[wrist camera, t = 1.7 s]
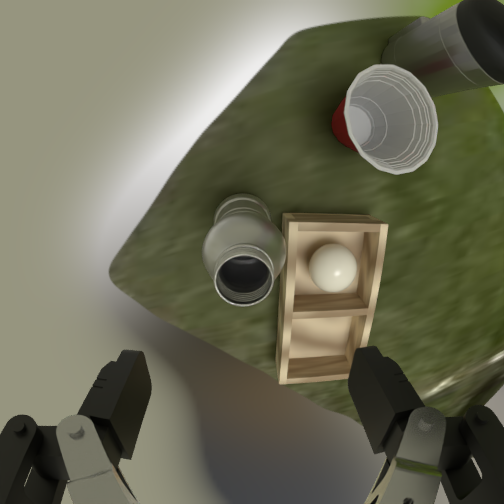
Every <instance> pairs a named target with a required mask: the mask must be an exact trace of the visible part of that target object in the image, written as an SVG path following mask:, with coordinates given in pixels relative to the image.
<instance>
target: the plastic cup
mask: <svg viewBox="0 0 504 504" xmlns="http://www.w3.org/2000/svg"><path fill="white" fill-rule="evenodd" d="M331 125H332V129H333V133H334V135H335V136H336V138H337V139H338V141H339V142H341V143H342V144H343V145H345V146H346V147H349V148H351V149H352V150H354V151H356V152H358V153H359V154H360V155H361V156H362V157H363V158H365V159H366V160H367V161H368V162H370V163H371V164H372V165H373V166H374V167H376V168H377V169H378V170H382V171H385V172H389V173H392V174H396V175H397V174H402V173H407V172H412V171H414V170H415V169H417V168H418V167H419V166H421V165H422V164H423V163H425V162H426V161H427V159H428V158H429V156H430V154H431V152H432V150H433V148H434V147H435V145H436V138H437V131H438V121H437V115H436V110H435V105H434V103H433V101H432V99H431V97H430V95H429V93H428V91H427V89H426V87H425V86H424V85H423V84H422V83H421V82H420V81H419V80H418V79H417V78H416V77H415V76H414V75H413V74H412V73H411V72H409V71H406V70H404V69H402V68H400V67H398V66H395V65H373V66H371V67H369V68H367V69H366V70H364V71H362V72H360V73H358V75H357V76H356V78H355V80H354V81H353V83H352V84H351V86H350V87H349V89H348V90H347V94H346V96H345V98H344V99H343V100H342V101H341V103H340V104H339V106H338V108H337V109H336V111H335V112H334V114H333V117H332V123H331Z"/></svg>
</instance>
